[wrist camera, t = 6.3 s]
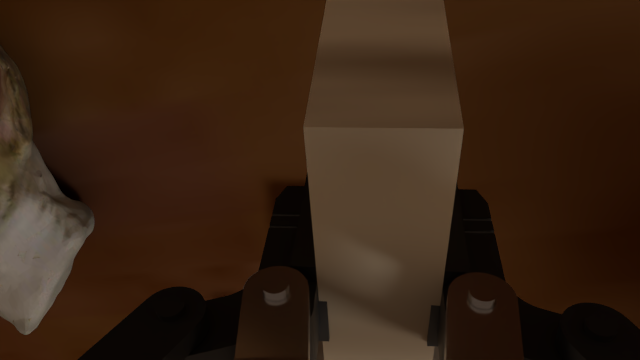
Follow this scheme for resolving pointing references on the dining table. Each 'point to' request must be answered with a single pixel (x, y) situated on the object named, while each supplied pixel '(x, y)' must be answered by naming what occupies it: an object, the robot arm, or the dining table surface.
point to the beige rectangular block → (382, 173)
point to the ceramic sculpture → (31, 214)
